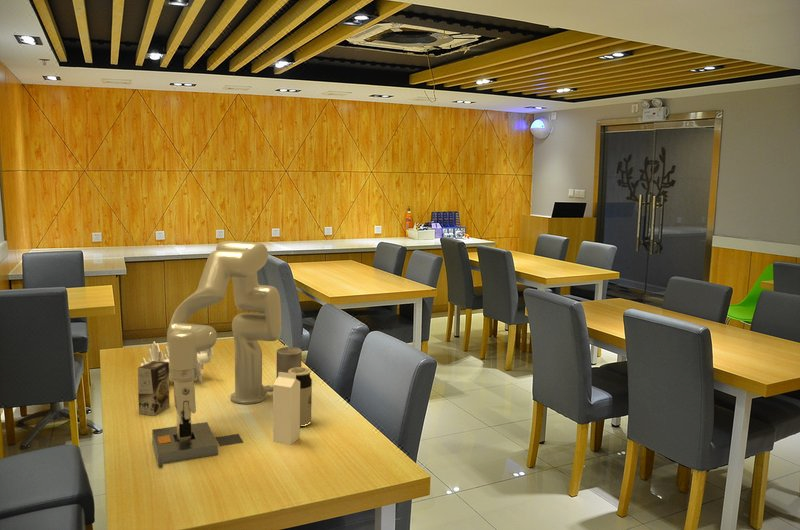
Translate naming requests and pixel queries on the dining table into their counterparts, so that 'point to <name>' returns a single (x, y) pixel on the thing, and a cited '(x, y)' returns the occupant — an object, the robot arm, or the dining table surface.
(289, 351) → the pillar candle
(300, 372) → the travel mug
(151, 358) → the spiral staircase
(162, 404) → the coffee box
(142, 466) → the dining table surface
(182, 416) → the peg
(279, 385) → the milk
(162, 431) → the block
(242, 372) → the robot arm
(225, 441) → the pad
